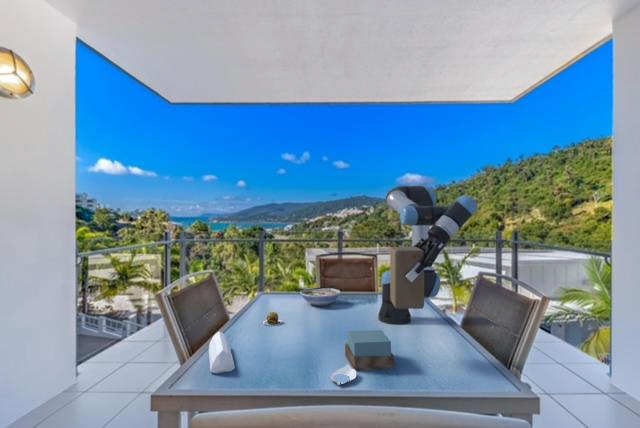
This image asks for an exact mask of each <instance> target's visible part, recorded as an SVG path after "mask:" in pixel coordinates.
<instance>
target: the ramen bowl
mask: <svg viewBox="0 0 640 428" xmlns="http://www.w3.org/2000/svg"><path fill="white" fill-rule="evenodd" d="M297 292H300V295H301V297H302V298H303V299H304V301H306V302H307V303H309V304H311V305H314V306H315V307H325V306H328V305H329V304H331V303H334V302H336V300H337V299H338V298H339V296H340V295H341V290H339V289H336V288H335V285H328V286H321V287H311V288H310V287H308V288H305V289H299V290H298V289H297Z"/></svg>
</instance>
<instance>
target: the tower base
mask: <svg viewBox="0 0 640 428" xmlns="http://www.w3.org/2000/svg"><path fill="white" fill-rule="evenodd" d="M344 347H345V348H344V352H345V353H344V354H345V355H344V356H345V358H346V360H347V361H348V363H349V365H351V366H350V367H351V368H352V369H355V371H356V372H361V371H360V370H363V371H373V370H375V369H377V370H388V369H389V370H391V369H394V368H395V355H394V354H393V352H391V356H366V357H354V355H353V353H352V351H351V349H350V347H349V345H348V343H345V344H344Z"/></svg>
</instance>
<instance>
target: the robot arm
mask: <svg viewBox="0 0 640 428" xmlns="http://www.w3.org/2000/svg"><path fill="white" fill-rule="evenodd" d="M385 204H386V206H387V207H388V208H389V209H390V210H391V211H395V212H396V213H398V214H399V215H400V219H399V220H400V222H401V224H402V225H403V226H409V227H411V243H412V244H411V247H417V248H419V249H421V250H423V251H424V257H423V259H422V260H420V261H419V262H420V263H421V264H420V263H419V262H418V263H417V264H416V265H415V266H414V268H413V269H412V270H411V271H410V272H409V273H408V274H407V275H406V277H407V279H408V280H409V281H410V282H413V281H414V279H415V278H416V277H417V276H418V275H419V274H420V273H421V272H422V271H423V270H424V299H429V298H435V297H436V296H438V294H439V293H440V288H441V278H440V275H439V273H438V272H436V268H435V267H433V265H434V263H435V261H436V259H437V258H438V256H439V255H440V253H441V251H443V249H444V248H445V247H446V245H447V244H448V243H449V241H451V238H453V237H454V236H456V235H457V232H458V231H459V230H460V229H461V228H462V227H463V226H464V225H465V224H466V223H467V221H469V220H470V218H471V217H473V216H474V215H475V213H476V212H477V211H478V208H479V205H478V203H477V202H476V200H475V199H474V198H472V197H470V196H468V195H464V194H463V195H460V196H459V198H457V199H456V200H455V201H454V202H453V203H451V204H448V205H437V195H436V192H435V190H434V189H433V187H431V186H428V185H397V186H395V187H393V188H391V189H390V190H389V191H388V192H387V193H386V196H385ZM377 319H378V320H379V321H380V322H381V323H386V324H391V325H404V324H409V323H411V321H412V317H411V312H410V309H397V308H395V307H394V305H393V303H392V302H391V300H390V270H388V271H385V272H384V273H382V276H381V305H380V308H379V312H378V318H377Z"/></svg>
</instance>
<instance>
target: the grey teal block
mask: <svg viewBox="0 0 640 428" xmlns="http://www.w3.org/2000/svg"><path fill="white" fill-rule="evenodd" d="M347 344H348V345H349V347H350V349H351V351H352V353H353V355H354V357H366V356H391V353H392V340H390V338H389V337H388V335H386V334H385V333H384V332H383V330H382V329H376V330H374V329H373V330H372V329H371V330H347Z"/></svg>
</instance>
